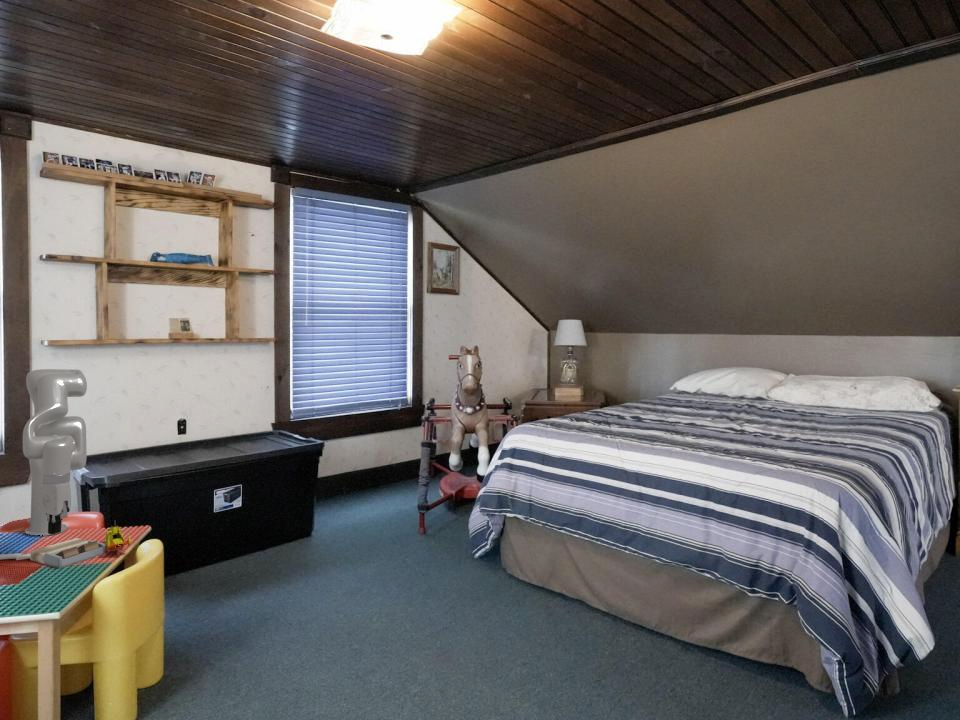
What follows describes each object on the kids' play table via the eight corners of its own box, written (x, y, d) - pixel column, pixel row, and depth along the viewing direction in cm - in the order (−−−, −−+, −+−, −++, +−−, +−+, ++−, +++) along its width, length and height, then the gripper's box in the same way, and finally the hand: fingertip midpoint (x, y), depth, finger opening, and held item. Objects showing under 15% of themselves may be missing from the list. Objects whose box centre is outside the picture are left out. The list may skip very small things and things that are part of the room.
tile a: (83, 544, 200) (85, 551, 200) (97, 540, 204) (99, 547, 204) (75, 548, 202) (77, 555, 201) (88, 544, 206) (91, 551, 205)
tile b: (62, 550, 193) (64, 557, 193) (76, 546, 198) (78, 553, 197) (54, 555, 195) (56, 562, 195) (68, 551, 199) (71, 558, 199)
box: (44, 564, 194) (44, 553, 194) (90, 550, 208) (90, 540, 208) (59, 568, 191) (59, 557, 191) (104, 554, 205) (105, 543, 205)
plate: (30, 560, 197) (30, 550, 197) (76, 546, 211) (76, 537, 211) (44, 564, 194) (44, 554, 194) (90, 550, 208) (90, 541, 208)
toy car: (108, 559, 201) (109, 529, 200) (100, 543, 215) (100, 515, 214) (130, 555, 205) (131, 526, 205) (120, 540, 219) (121, 513, 218)
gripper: (29, 476, 197) (27, 531, 199) (59, 484, 192) (57, 541, 193) (53, 471, 204) (51, 525, 205) (82, 479, 198) (80, 534, 200)
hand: (54, 532), depth 199 cm, fingers closed
